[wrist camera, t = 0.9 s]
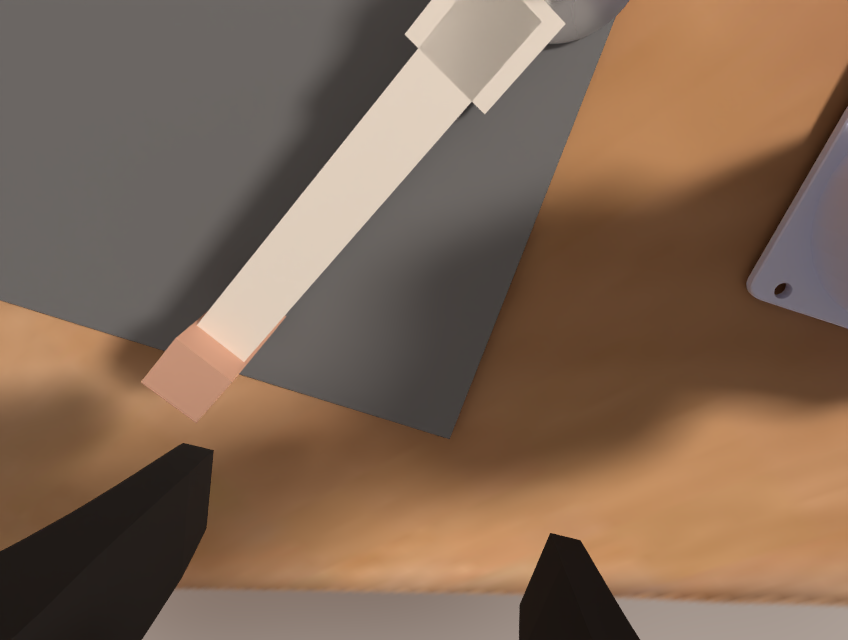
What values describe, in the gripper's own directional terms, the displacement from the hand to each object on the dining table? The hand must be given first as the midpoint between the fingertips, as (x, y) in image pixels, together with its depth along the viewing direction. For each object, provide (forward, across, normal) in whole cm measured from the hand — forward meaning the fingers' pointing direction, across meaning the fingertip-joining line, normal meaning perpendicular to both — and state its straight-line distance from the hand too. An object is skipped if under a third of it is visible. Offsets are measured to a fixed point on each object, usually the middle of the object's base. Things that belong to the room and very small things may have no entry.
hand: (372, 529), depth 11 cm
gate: (+8, +3, -5) cm, 10 cm away
